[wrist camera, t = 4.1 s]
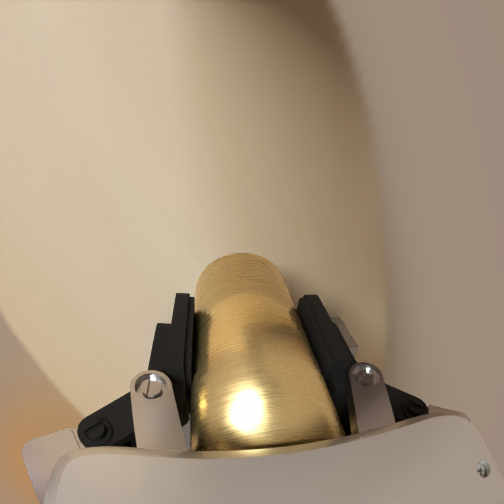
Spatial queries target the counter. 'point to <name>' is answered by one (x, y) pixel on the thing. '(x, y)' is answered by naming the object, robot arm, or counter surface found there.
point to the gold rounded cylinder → (253, 363)
